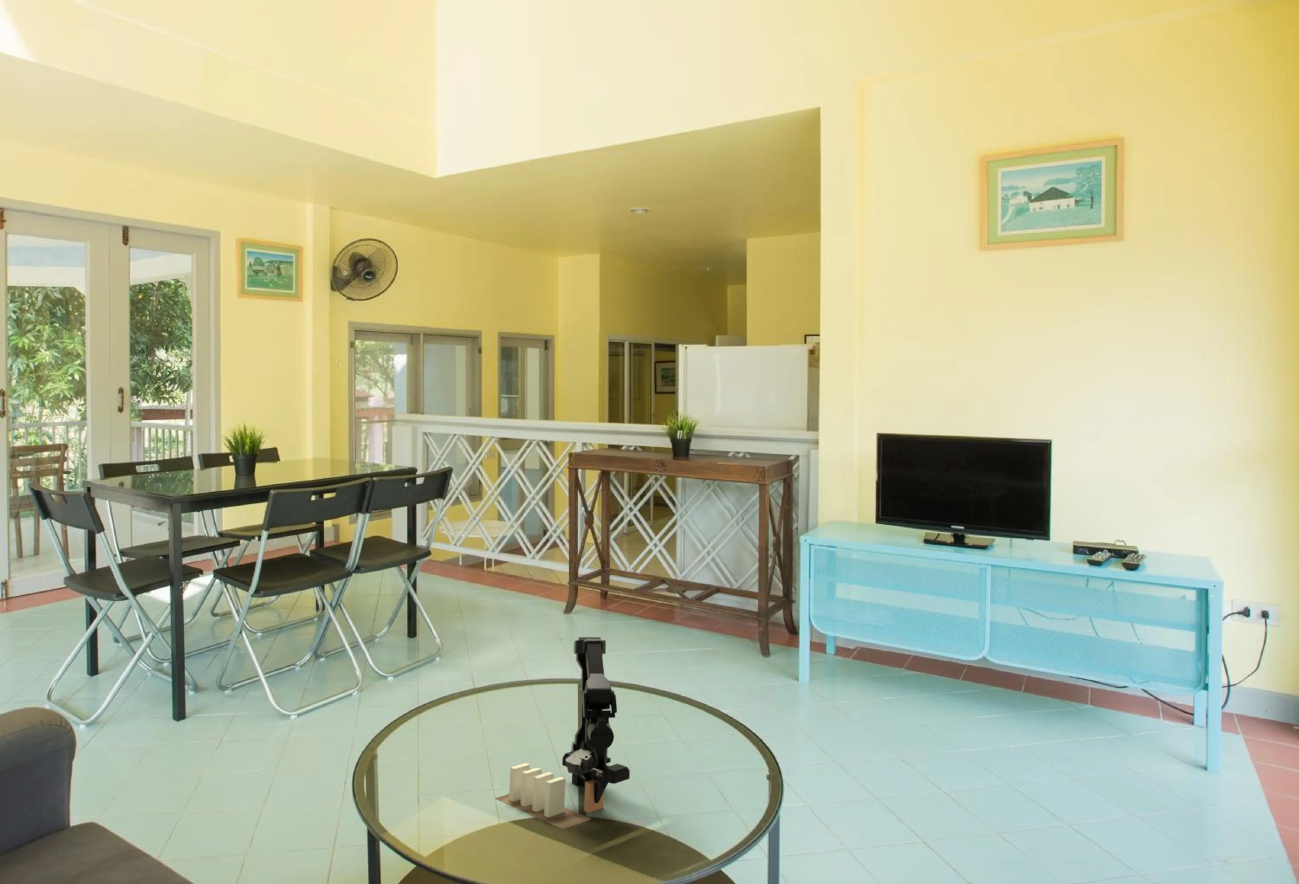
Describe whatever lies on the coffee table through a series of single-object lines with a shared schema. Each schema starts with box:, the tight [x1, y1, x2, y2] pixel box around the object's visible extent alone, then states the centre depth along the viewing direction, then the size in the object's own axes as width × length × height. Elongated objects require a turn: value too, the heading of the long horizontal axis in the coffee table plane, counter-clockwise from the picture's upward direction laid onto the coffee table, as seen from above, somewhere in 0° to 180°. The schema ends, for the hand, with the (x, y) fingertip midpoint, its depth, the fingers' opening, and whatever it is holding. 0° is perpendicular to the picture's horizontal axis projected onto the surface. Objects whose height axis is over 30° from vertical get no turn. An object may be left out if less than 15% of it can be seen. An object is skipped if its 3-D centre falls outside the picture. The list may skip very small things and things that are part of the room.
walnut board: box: [494, 793, 592, 830], centre depth 199 cm, size 26×9×1 cm, turn 48°
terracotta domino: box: [583, 780, 605, 814], centre depth 200 cm, size 2×5×8 cm, turn 138°
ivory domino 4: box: [544, 776, 567, 817], centre depth 196 cm, size 2×5×8 cm, turn 138°
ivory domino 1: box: [508, 762, 531, 801], centre depth 205 cm, size 2×5×8 cm, turn 138°
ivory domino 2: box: [521, 767, 543, 807], centre depth 202 cm, size 2×5×8 cm, turn 138°
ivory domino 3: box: [532, 771, 554, 812], centre depth 199 cm, size 2×5×8 cm, turn 138°
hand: (594, 801), depth 200 cm, fingers closed on terracotta domino, 2 cm apart
